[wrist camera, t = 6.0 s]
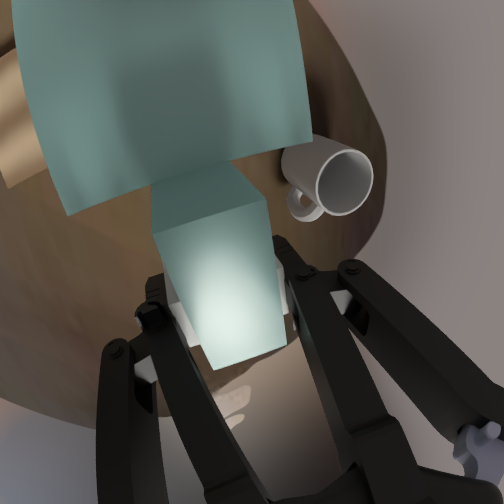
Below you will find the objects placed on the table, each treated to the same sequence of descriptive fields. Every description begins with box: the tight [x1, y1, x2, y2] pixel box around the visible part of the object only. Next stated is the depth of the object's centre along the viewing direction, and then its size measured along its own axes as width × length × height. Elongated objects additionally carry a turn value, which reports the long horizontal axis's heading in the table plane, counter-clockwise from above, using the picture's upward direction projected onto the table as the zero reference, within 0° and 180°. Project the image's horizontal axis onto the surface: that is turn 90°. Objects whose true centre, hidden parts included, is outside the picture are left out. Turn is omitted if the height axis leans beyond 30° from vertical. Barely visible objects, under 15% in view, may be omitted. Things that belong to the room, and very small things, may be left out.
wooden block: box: [0, 48, 48, 189], centre depth 20 cm, size 14×12×3 cm
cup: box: [281, 134, 373, 222], centre depth 32 cm, size 7×10×9 cm
